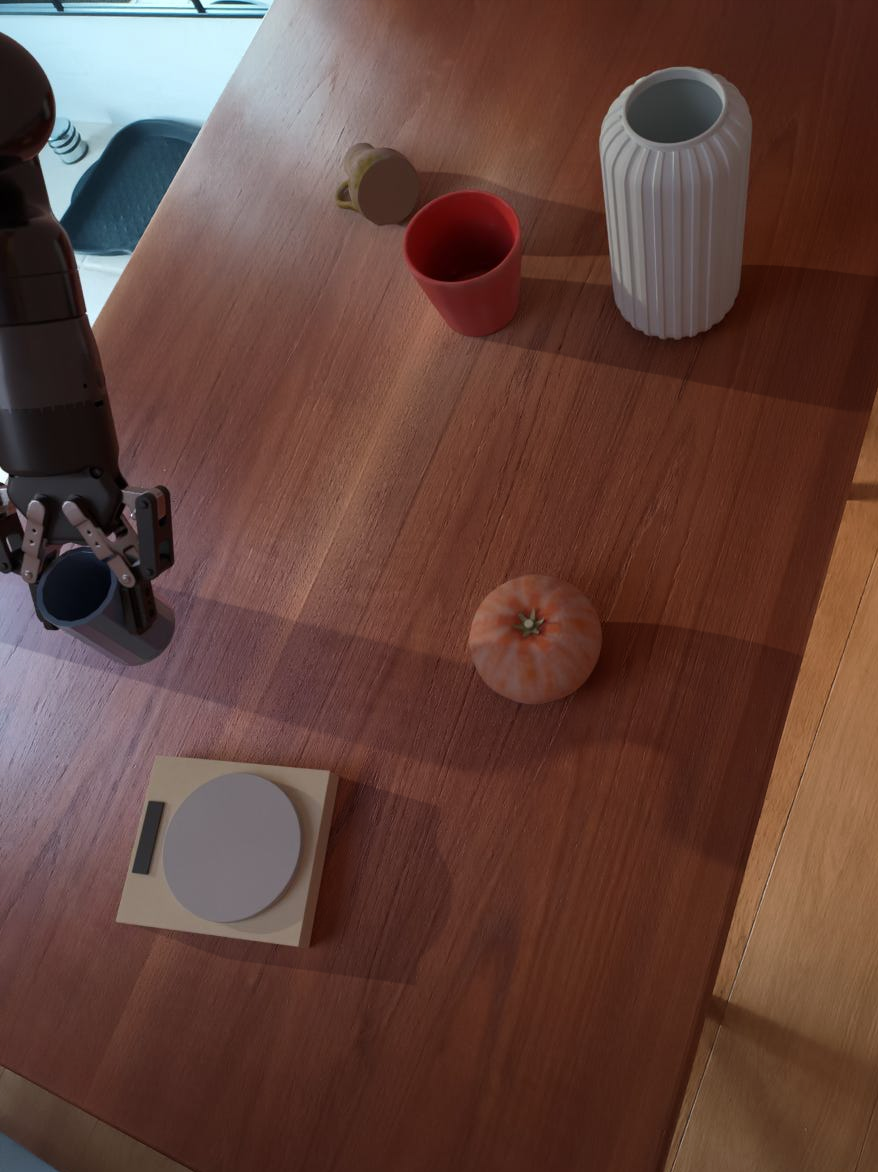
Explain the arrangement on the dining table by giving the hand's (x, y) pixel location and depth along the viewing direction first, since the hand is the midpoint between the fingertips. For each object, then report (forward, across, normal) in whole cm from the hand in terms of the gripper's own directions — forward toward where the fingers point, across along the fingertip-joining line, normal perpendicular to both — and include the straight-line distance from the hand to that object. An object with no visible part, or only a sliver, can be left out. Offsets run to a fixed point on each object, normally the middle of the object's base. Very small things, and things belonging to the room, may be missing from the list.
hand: (100, 627), depth 71 cm
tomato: (+9, +29, +18) cm, 35 cm away
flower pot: (-16, +19, +44) cm, 50 cm away
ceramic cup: (+2, 0, +5) cm, 5 cm away
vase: (-16, +38, +43) cm, 60 cm away
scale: (+22, +5, +4) cm, 23 cm away
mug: (-26, +6, +54) cm, 60 cm away
